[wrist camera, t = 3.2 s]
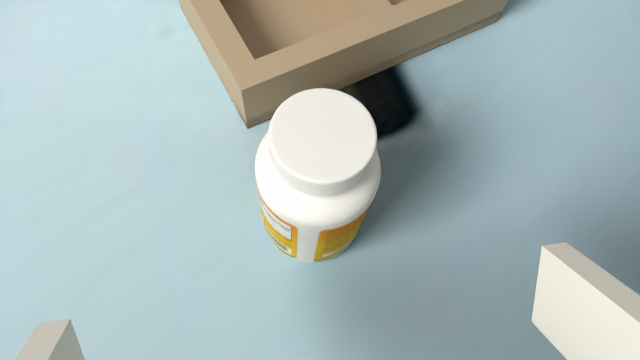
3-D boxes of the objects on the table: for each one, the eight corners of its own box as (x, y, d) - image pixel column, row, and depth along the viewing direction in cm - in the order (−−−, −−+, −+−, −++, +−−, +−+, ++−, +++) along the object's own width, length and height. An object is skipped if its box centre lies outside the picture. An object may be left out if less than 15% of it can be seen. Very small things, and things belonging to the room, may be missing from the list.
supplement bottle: (363, 181, 26) (402, 83, 17) (352, 272, 24) (391, 213, 15) (273, 166, 26) (264, 60, 17) (254, 255, 24) (232, 188, 15)
